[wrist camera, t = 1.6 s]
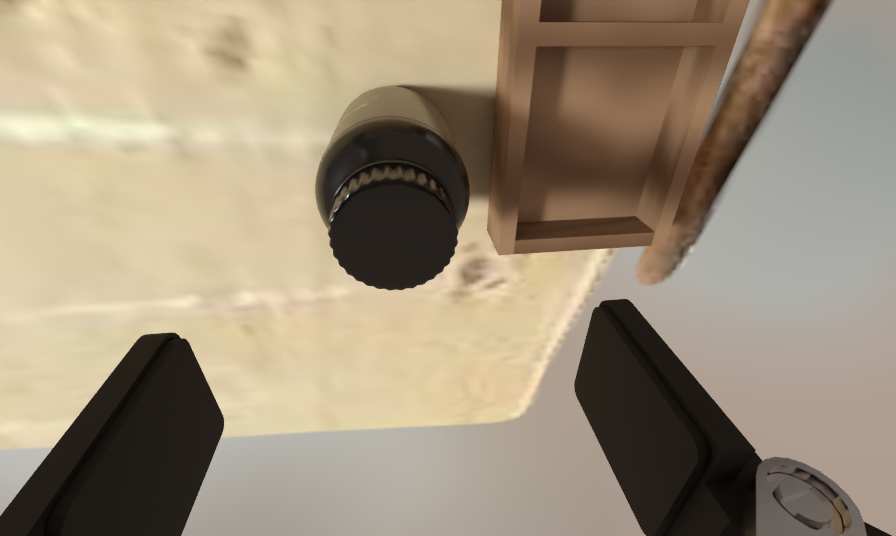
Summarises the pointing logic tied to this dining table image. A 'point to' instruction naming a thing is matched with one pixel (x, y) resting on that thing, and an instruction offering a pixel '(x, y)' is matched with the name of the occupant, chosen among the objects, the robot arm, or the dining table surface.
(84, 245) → the dining table surface
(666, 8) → the caddy
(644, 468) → the robot arm
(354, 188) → the supplement bottle
